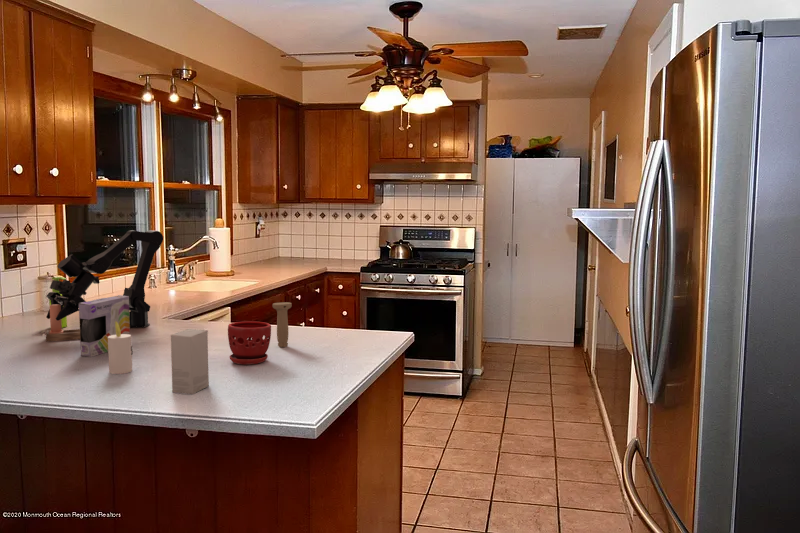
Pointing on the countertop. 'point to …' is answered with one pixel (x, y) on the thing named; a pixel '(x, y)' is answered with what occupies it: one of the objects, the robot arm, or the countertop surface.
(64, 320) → the soap dispenser
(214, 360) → the countertop surface
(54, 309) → the slider knob
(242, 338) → the plant pot
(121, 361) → the candle
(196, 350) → the skincare box
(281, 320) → the handle
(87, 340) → the cake pan box
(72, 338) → the track
